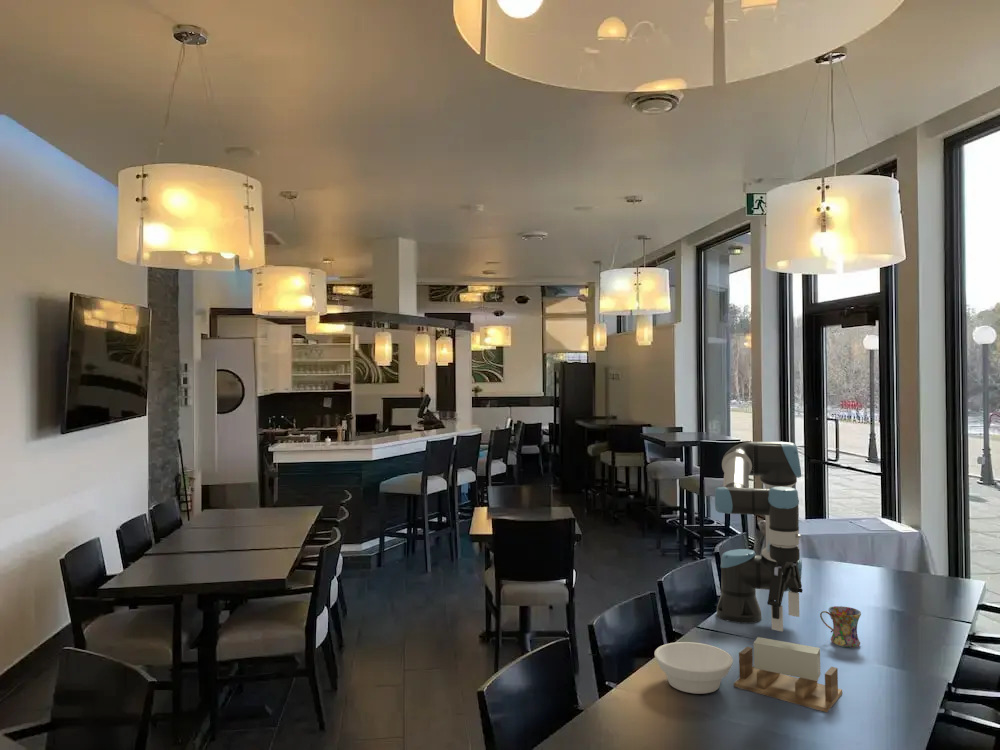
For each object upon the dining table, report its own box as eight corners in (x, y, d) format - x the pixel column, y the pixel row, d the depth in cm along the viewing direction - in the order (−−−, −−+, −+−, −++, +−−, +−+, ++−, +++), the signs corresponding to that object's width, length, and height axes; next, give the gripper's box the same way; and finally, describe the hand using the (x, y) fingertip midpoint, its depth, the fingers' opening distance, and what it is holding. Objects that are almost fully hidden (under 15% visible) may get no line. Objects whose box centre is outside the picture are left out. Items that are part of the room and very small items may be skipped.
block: (754, 668, 189) (753, 642, 189) (758, 662, 193) (757, 637, 193) (817, 681, 180) (817, 654, 180) (820, 674, 184) (819, 648, 184)
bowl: (722, 709, 176) (722, 677, 176) (643, 691, 187) (643, 661, 187) (741, 679, 193) (741, 650, 194) (668, 664, 205) (668, 636, 205)
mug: (864, 643, 219) (864, 609, 219) (858, 652, 212) (857, 617, 212) (824, 635, 226) (823, 602, 227) (816, 643, 219) (816, 610, 219)
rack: (733, 686, 189) (733, 657, 189) (752, 670, 199) (752, 642, 199) (827, 712, 173) (826, 680, 173) (842, 693, 184) (841, 663, 184)
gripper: (783, 556, 175) (784, 639, 175) (812, 537, 194) (814, 612, 194) (753, 552, 180) (755, 633, 180) (785, 534, 199) (787, 607, 199)
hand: (785, 622), depth 187 cm, fingers open, 13 cm apart
